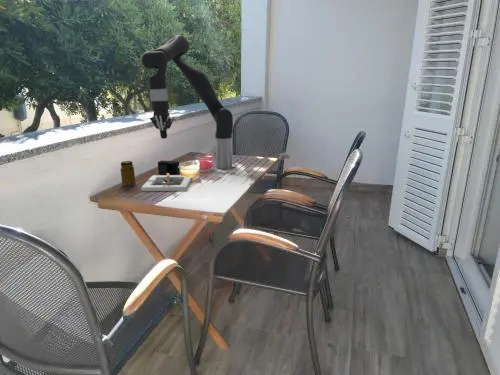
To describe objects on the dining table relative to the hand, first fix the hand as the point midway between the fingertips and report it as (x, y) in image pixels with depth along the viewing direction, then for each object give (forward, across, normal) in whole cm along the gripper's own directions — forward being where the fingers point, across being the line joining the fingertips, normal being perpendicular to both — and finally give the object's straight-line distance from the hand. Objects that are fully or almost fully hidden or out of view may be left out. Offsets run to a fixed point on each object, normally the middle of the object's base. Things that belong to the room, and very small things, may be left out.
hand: (164, 138), depth 162 cm
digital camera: (+24, -16, +15) cm, 32 cm away
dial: (+22, -1, 0) cm, 22 cm away
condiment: (+23, -16, -10) cm, 29 cm away
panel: (+23, -1, 0) cm, 23 cm away
